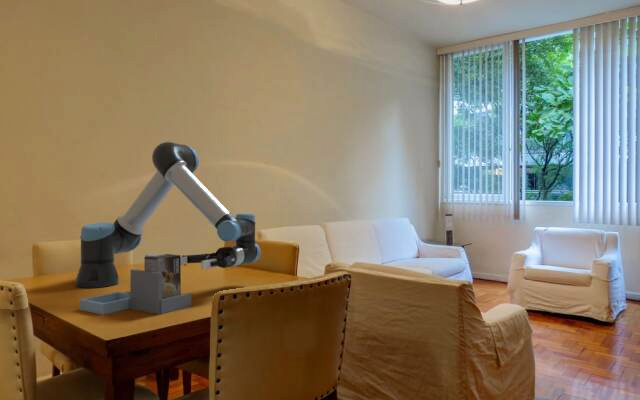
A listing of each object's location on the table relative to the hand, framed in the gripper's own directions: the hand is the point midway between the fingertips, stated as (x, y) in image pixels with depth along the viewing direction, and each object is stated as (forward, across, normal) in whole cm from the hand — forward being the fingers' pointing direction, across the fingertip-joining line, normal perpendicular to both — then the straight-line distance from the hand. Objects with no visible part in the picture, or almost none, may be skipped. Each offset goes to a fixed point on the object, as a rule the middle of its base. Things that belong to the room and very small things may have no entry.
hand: (186, 263), depth 154 cm
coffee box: (+10, 0, -12) cm, 16 cm away
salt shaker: (-6, +24, -12) cm, 28 cm away
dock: (+10, 0, -12) cm, 16 cm away
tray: (+19, +13, -12) cm, 26 cm away
